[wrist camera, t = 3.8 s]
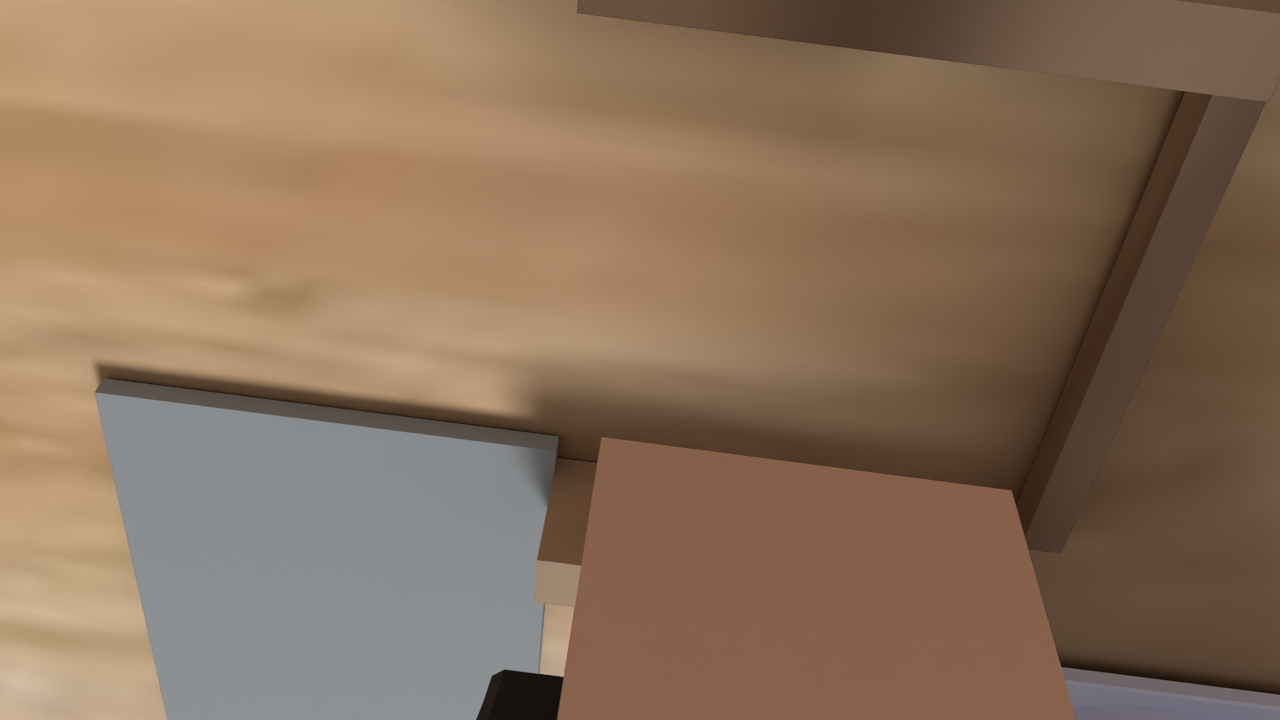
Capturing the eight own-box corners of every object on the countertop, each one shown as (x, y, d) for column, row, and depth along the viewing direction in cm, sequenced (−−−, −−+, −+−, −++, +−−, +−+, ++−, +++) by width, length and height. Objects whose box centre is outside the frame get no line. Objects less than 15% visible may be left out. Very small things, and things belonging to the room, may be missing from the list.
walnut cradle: (1297, -44, 15) (1383, 27, 13) (1033, 560, 21) (1063, 669, 19) (605, -133, 15) (583, -78, 13) (553, 498, 21) (533, 602, 19)
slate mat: (558, 435, 20) (555, 451, 20) (523, 867, 29) (520, 883, 28) (105, 378, 20) (94, 392, 20) (200, 827, 29) (194, 842, 28)
